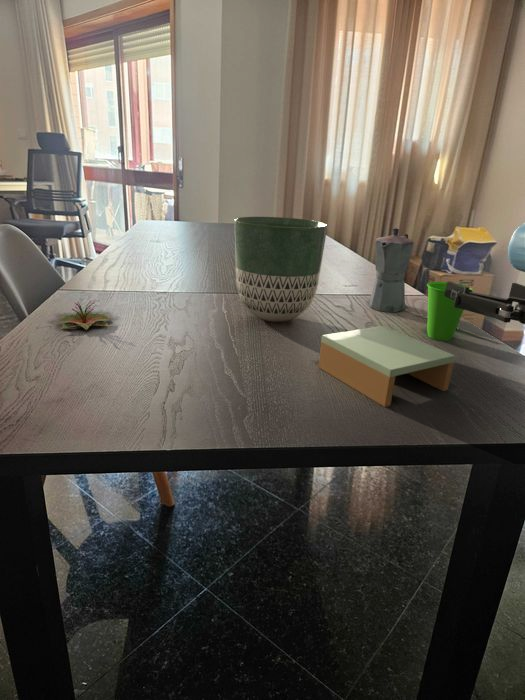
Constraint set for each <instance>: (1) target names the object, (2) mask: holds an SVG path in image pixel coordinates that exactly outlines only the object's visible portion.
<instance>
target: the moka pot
mask: <svg viewBox="0 0 525 700" xmlns="http://www.w3.org/2000/svg"><path fill="white" fill-rule="evenodd" d="M399 232H400V229H399V228H392V235H388V236H387V235H385V236H381V237H376V239H375V278H374V281H373V282H374V283H373V286H372V290H371V294H370V299H369V303H368V306H369V307H370V308H371V309H373V310H375V311H378V312H385V313H397V312H402V311H404V309H405V308H406V295H405V294H406V293H405V292H406V289H405V286H406V285H405V284H406V282H405V278H406V273H407V270H408V267H409V264H410V260H411V255H412V251H413V249H414V248H413V247H414V239H411V238H409V234H408V233H405V234H404V235H399Z"/></svg>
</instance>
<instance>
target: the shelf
mask: <svg viewBox="0 0 525 700" xmlns="http://www.w3.org/2000/svg"><path fill="white" fill-rule="evenodd" d="M455 358H456V355H455V354H453V353H450V352H447V351H445V350H442V349H440V348H438V347H435V346H433V345H431V344H428V343H426V342H423V341H421V340H419V339H416V338H414V337H411V336H409V335H406V334H404V333H401V332H399V331H398V330H397V331H396V330H394V329H392V328H389V327H387V326H384V325H377V326H372V327H366V328H364V327H363V328H359V329H353V330H346V331H339V332H333V333H327V334H322V335H321V342H320V351H319V360H318V368H319V369H320V370H322V371H323V372H326V373H327V374H329V375H331V376H332V377H334V378H335V379H337V380H339V381H340V382H342V383H344V384H346V385H347V386H348V387H350V388H352V389H354V390H355V391H357V392H359V393H360V394H362V395H364V396H365V397H367V398H369V399H370V400H372V401H374V402H375V403H377V404H378V405H380V406H382V407H383V408H387V407H390V406H391V405H392V400H393V393H394V387H395V381H396V377H397V376H401V375H405V374H406V375H407V374H408V375H409V376H411V377H413V378H415V379H418V380H420V381H421V382H424V383H425V384H427V385H430V386H431V387H434V388H435V389H438V390H440V391H441V392H445V391H448V390H449V386H450V381H451V377H452V373H453V368H454V364H455Z"/></svg>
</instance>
